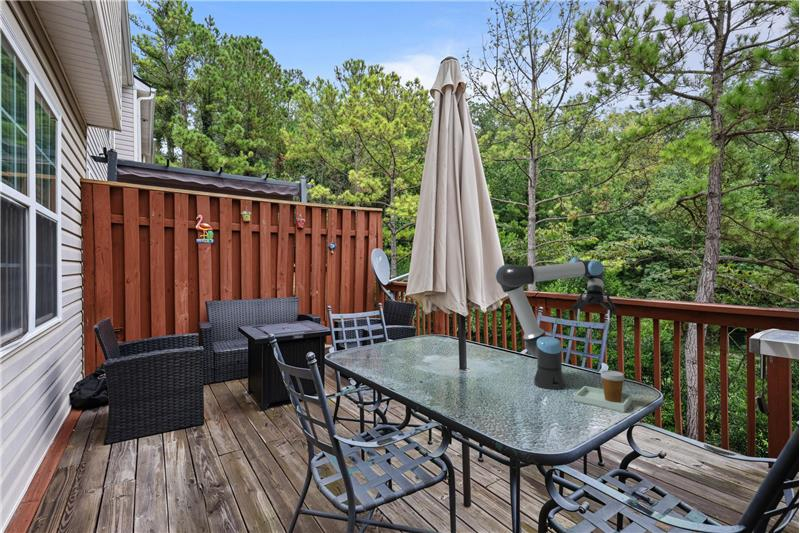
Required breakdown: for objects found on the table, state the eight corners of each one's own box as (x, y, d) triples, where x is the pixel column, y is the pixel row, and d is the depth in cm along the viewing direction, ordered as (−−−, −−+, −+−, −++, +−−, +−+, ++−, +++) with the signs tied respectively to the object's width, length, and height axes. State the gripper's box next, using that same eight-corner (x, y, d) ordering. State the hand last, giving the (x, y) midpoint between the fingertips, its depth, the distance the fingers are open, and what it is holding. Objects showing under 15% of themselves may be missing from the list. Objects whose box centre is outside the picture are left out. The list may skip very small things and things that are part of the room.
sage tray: (573, 401, 174) (573, 395, 174) (584, 392, 186) (584, 385, 186) (624, 412, 161) (624, 405, 161) (632, 401, 173) (632, 394, 173)
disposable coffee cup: (613, 405, 167) (612, 377, 167) (595, 397, 176) (595, 371, 176) (630, 402, 170) (629, 374, 170) (612, 395, 179) (612, 369, 179)
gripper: (622, 294, 201) (622, 327, 189) (570, 293, 214) (566, 324, 202) (622, 284, 197) (621, 318, 184) (568, 284, 210) (565, 315, 197)
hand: (592, 321), depth 193 cm, fingers open, 13 cm apart
